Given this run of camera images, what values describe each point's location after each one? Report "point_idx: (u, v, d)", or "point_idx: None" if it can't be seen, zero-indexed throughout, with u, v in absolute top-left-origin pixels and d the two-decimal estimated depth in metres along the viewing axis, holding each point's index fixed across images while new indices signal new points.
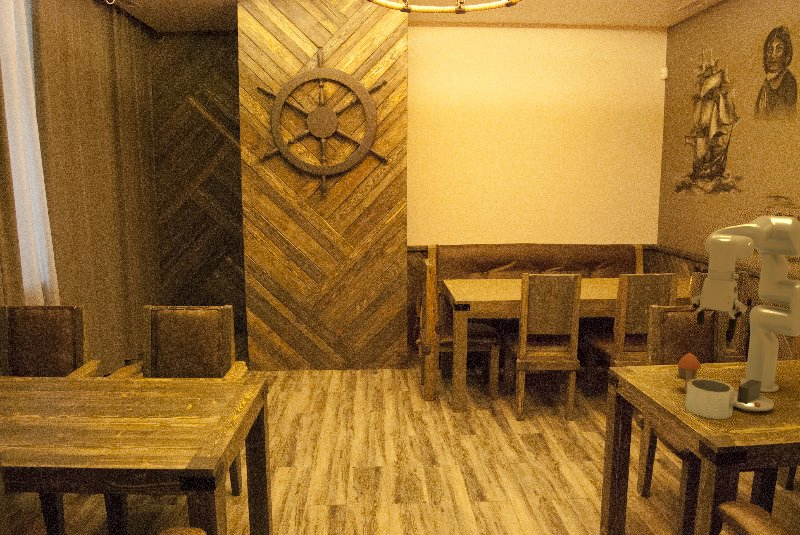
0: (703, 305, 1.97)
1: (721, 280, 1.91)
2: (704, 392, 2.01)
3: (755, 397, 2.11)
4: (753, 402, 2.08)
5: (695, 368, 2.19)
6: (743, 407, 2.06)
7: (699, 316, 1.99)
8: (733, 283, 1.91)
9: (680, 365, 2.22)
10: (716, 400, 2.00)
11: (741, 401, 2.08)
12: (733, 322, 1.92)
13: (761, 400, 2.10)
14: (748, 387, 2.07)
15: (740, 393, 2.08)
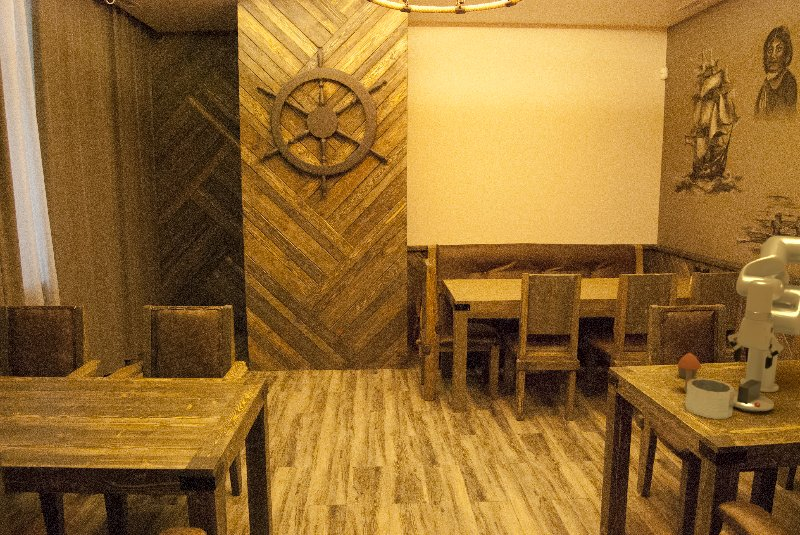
0: (740, 343, 2.09)
1: (759, 321, 2.03)
2: (704, 392, 2.01)
3: (755, 397, 2.11)
4: (753, 402, 2.08)
5: (695, 368, 2.19)
6: (743, 407, 2.06)
7: (736, 353, 2.11)
8: (770, 324, 2.02)
9: (680, 365, 2.22)
10: (716, 400, 2.00)
11: (741, 401, 2.08)
12: (770, 360, 2.03)
13: (761, 400, 2.10)
14: (748, 387, 2.07)
15: (740, 393, 2.08)
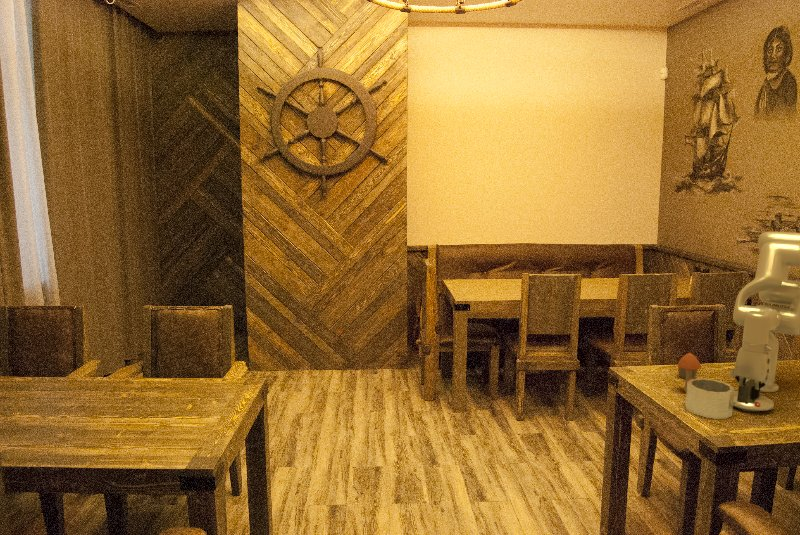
0: (737, 373, 2.11)
1: (755, 352, 2.05)
2: (704, 392, 2.01)
3: None
4: (753, 402, 2.08)
5: (695, 368, 2.19)
6: (743, 407, 2.06)
7: None
8: (766, 355, 2.05)
9: (680, 365, 2.22)
10: (716, 400, 2.00)
11: (741, 401, 2.08)
12: (756, 392, 2.08)
13: (761, 400, 2.10)
14: (748, 387, 2.07)
15: (740, 393, 2.08)
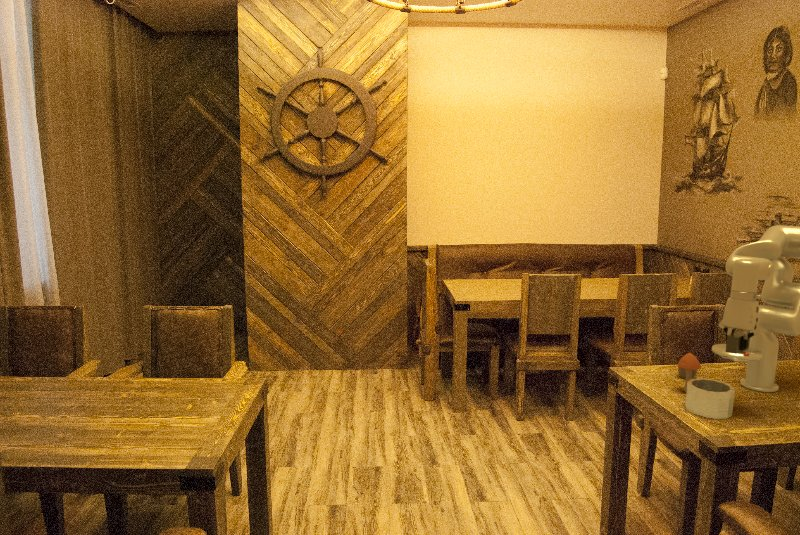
0: (726, 324, 2.06)
1: (744, 300, 2.00)
2: (704, 392, 2.01)
3: None
4: (742, 352, 2.03)
5: (695, 368, 2.19)
6: (732, 356, 2.00)
7: None
8: (755, 303, 2.00)
9: (680, 365, 2.22)
10: (716, 400, 2.00)
11: (730, 351, 2.02)
12: (745, 342, 2.03)
13: (749, 351, 2.05)
14: (737, 336, 2.02)
15: (729, 343, 2.02)
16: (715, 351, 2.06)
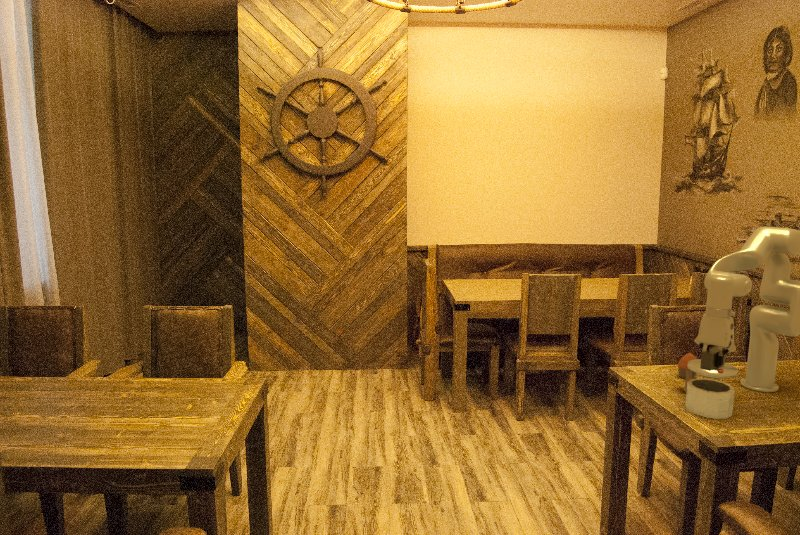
0: (701, 340, 2.05)
1: (718, 317, 1.98)
2: (704, 392, 2.01)
3: None
4: (717, 369, 2.02)
5: None
6: (706, 373, 1.99)
7: None
8: (730, 320, 1.98)
9: (680, 365, 2.22)
10: (716, 400, 2.00)
11: (704, 368, 2.01)
12: (720, 359, 2.02)
13: (725, 367, 2.03)
14: (711, 353, 2.00)
15: (703, 359, 2.01)
16: (690, 367, 2.04)
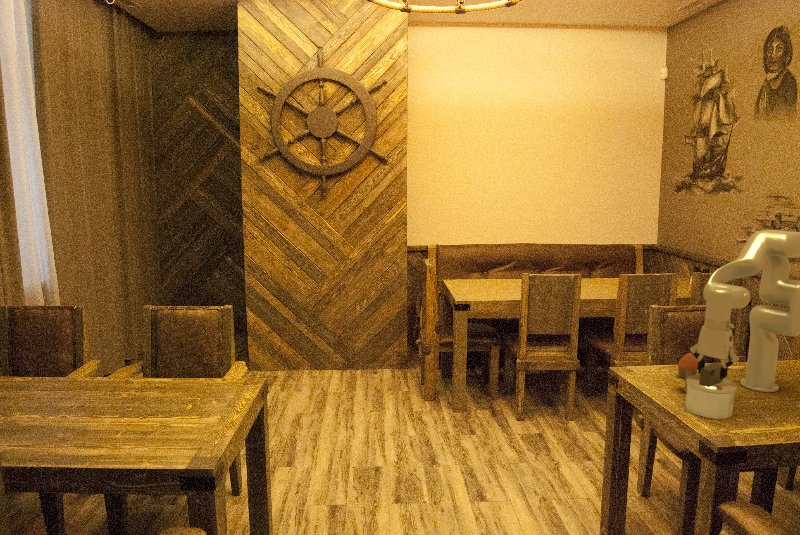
0: (700, 352, 2.06)
1: (717, 329, 1.99)
2: (704, 392, 2.01)
3: (718, 380, 2.06)
4: (715, 385, 2.03)
5: (695, 368, 2.19)
6: (705, 390, 2.00)
7: (700, 365, 2.07)
8: (728, 332, 1.99)
9: (680, 365, 2.22)
10: (716, 400, 2.00)
11: (703, 384, 2.02)
12: (724, 371, 2.01)
13: (724, 383, 2.05)
14: (710, 369, 2.01)
15: (702, 376, 2.02)
16: (689, 383, 2.06)
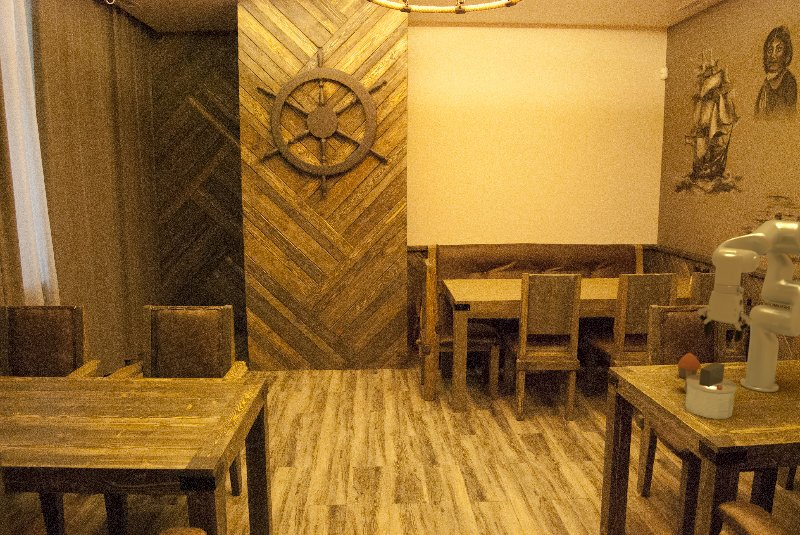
0: (710, 317, 2.05)
1: (727, 294, 1.99)
2: (704, 392, 2.01)
3: (718, 380, 2.06)
4: (715, 385, 2.03)
5: (695, 368, 2.19)
6: (705, 390, 2.00)
7: (706, 327, 2.07)
8: (739, 296, 1.98)
9: (680, 365, 2.22)
10: (716, 400, 2.00)
11: (703, 384, 2.02)
12: (739, 334, 2.00)
13: (724, 383, 2.05)
14: (710, 369, 2.01)
15: (702, 376, 2.02)
16: (689, 383, 2.06)
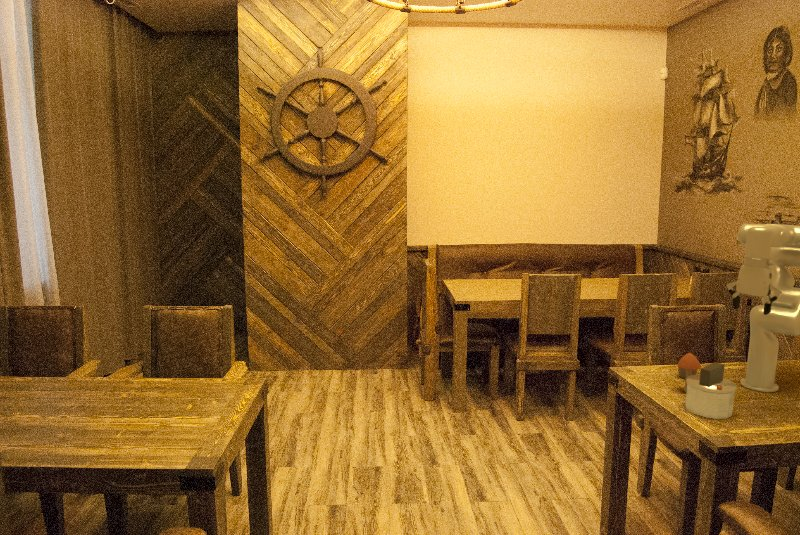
0: (739, 291, 2.10)
1: (757, 267, 2.03)
2: (704, 392, 2.01)
3: (718, 380, 2.06)
4: (715, 385, 2.03)
5: (695, 368, 2.19)
6: (705, 390, 2.00)
7: (735, 301, 2.12)
8: (768, 270, 2.03)
9: (680, 365, 2.22)
10: (716, 400, 2.00)
11: (703, 384, 2.02)
12: (768, 306, 2.04)
13: (724, 383, 2.05)
14: (710, 369, 2.01)
15: (702, 376, 2.02)
16: (689, 383, 2.06)
